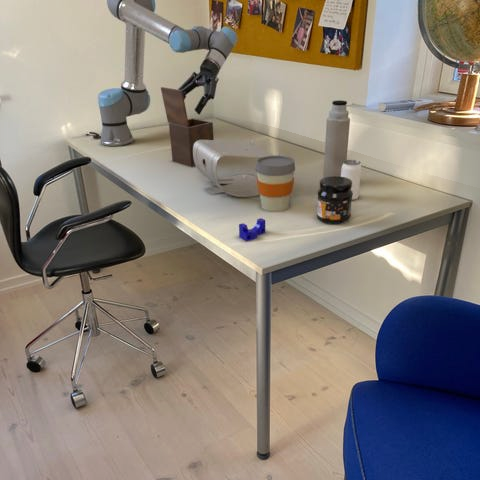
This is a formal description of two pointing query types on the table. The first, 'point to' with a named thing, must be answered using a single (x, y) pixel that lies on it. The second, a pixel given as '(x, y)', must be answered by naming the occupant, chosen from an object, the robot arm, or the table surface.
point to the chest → (188, 139)
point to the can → (352, 175)
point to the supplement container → (334, 200)
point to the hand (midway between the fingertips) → (186, 110)
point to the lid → (175, 106)
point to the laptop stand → (218, 149)
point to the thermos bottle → (336, 139)
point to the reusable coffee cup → (275, 181)
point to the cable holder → (252, 230)
